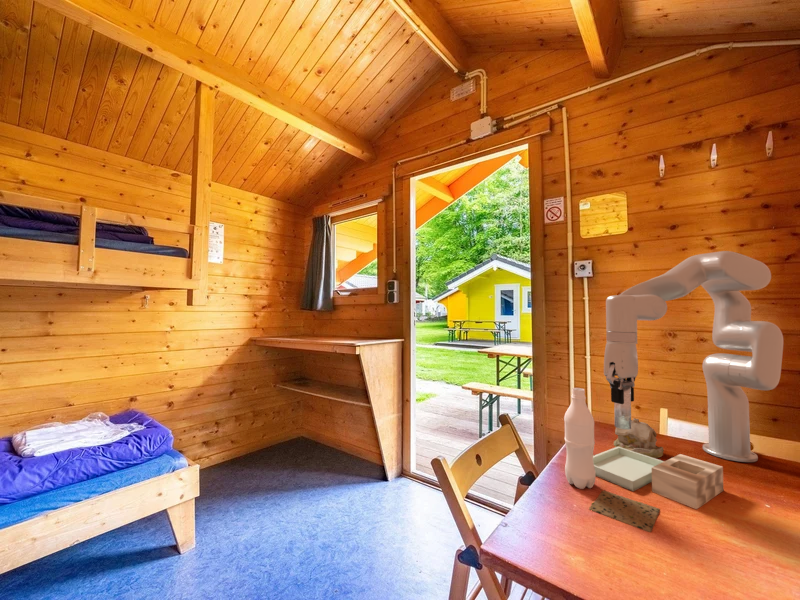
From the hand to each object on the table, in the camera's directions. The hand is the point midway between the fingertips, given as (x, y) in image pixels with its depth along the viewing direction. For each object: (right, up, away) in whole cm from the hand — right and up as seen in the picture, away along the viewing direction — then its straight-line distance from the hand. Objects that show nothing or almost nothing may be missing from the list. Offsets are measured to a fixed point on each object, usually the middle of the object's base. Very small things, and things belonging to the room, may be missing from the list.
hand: (622, 401), depth 99 cm
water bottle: (-16, -20, -8) cm, 27 cm away
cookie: (-12, -20, -19) cm, 30 cm away
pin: (0, -7, 0) cm, 7 cm away
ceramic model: (+15, -21, +15) cm, 29 cm away
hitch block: (+9, -19, -12) cm, 24 cm away
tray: (0, -20, -1) cm, 20 cm away
